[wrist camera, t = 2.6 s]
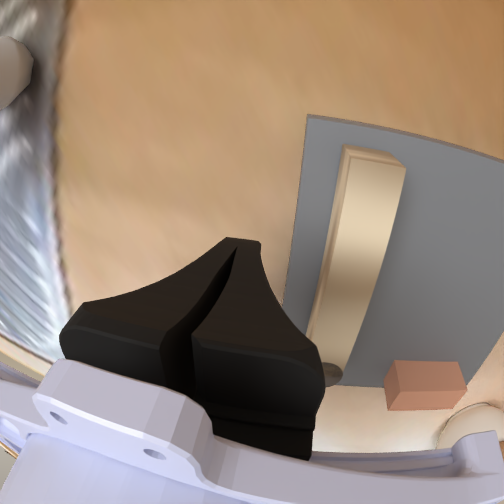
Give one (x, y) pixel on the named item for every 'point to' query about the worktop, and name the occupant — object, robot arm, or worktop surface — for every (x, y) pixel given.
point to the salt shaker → (13, 69)
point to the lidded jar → (473, 424)
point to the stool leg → (353, 252)
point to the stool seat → (411, 263)
